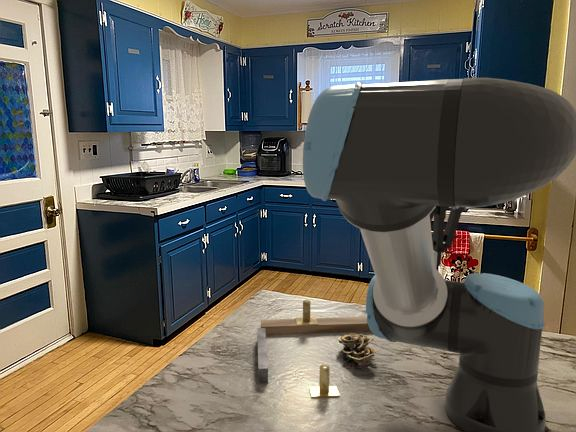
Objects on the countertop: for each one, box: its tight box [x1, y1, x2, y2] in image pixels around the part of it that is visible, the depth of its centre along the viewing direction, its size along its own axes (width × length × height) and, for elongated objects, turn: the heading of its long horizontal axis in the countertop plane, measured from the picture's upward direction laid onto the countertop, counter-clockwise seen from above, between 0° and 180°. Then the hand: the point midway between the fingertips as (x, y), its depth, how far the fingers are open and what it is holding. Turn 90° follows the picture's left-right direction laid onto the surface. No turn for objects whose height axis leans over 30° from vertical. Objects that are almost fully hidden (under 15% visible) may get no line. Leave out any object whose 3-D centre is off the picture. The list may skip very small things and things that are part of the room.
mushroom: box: [337, 333, 377, 369], centre depth 95 cm, size 12×8×4 cm, turn 173°
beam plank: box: [260, 299, 371, 336], centre depth 107 cm, size 4×30×7 cm, turn 94°
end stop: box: [256, 327, 269, 384], centre depth 93 cm, size 18×2×3 cm, turn 5°
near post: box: [309, 364, 340, 399], centre depth 81 cm, size 3×5×5 cm, turn 94°
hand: (429, 280), depth 93 cm, fingers closed
